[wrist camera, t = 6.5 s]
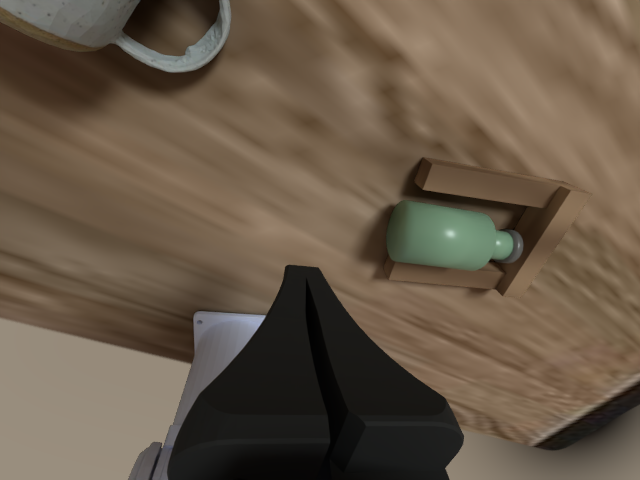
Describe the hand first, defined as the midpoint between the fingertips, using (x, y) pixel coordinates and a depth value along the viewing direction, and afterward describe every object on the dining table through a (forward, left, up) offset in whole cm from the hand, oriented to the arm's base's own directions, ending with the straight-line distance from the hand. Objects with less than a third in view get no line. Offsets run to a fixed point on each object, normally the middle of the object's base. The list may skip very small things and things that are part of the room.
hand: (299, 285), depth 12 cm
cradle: (-1, -14, -10) cm, 17 cm away
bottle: (-1, -8, -8) cm, 11 cm away
